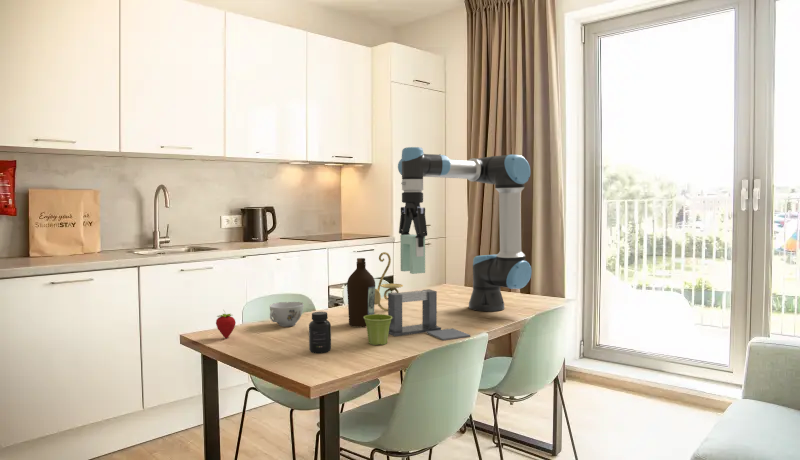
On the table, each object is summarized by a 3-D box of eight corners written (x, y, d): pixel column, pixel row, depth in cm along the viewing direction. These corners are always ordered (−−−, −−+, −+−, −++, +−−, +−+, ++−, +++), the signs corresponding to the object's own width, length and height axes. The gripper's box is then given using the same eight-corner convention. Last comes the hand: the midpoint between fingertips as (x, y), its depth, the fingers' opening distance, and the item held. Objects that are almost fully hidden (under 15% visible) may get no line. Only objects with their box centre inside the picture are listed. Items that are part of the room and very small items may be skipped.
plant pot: (373, 338, 191) (373, 312, 190) (397, 341, 186) (397, 315, 186) (358, 344, 183) (357, 318, 182) (382, 348, 178) (382, 321, 178)
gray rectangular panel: (452, 329, 202) (452, 328, 202) (470, 336, 192) (470, 334, 192) (426, 333, 197) (426, 331, 197) (443, 340, 187) (443, 338, 187)
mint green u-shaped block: (412, 269, 205) (412, 234, 204) (425, 272, 197) (425, 235, 196) (400, 270, 202) (400, 234, 202) (412, 273, 194) (412, 236, 194)
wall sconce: (382, 315, 228) (381, 253, 227) (367, 311, 235) (367, 252, 234) (407, 310, 237) (407, 251, 236) (393, 307, 244) (392, 250, 243)
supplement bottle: (309, 348, 178) (309, 310, 178) (331, 347, 179) (331, 310, 178) (308, 354, 172) (307, 315, 171) (330, 353, 172) (330, 314, 171)
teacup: (286, 320, 219) (286, 299, 219) (310, 323, 213) (310, 302, 212) (257, 327, 207) (257, 306, 206) (282, 331, 200) (282, 309, 200)
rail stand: (429, 325, 209) (429, 288, 208) (441, 330, 202) (441, 291, 201) (383, 331, 200) (383, 292, 199) (394, 336, 193) (393, 296, 192)
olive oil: (343, 326, 207) (342, 259, 206) (352, 320, 218) (352, 256, 216) (370, 328, 205) (370, 260, 203) (378, 322, 215) (378, 257, 214)
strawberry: (224, 341, 186) (223, 312, 186) (212, 338, 191) (211, 309, 191) (239, 338, 191) (239, 309, 190) (227, 334, 196) (227, 306, 195)
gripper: (389, 191, 206) (389, 252, 207) (418, 191, 187) (418, 258, 188) (407, 191, 209) (407, 251, 211) (437, 191, 190) (437, 257, 191)
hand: (412, 255), depth 199 cm, fingers closed on mint green u-shaped block, 9 cm apart
